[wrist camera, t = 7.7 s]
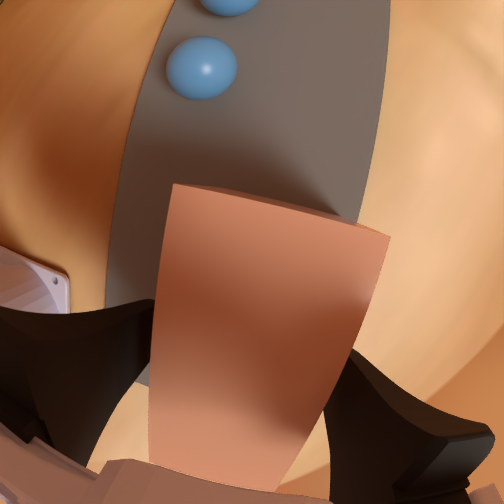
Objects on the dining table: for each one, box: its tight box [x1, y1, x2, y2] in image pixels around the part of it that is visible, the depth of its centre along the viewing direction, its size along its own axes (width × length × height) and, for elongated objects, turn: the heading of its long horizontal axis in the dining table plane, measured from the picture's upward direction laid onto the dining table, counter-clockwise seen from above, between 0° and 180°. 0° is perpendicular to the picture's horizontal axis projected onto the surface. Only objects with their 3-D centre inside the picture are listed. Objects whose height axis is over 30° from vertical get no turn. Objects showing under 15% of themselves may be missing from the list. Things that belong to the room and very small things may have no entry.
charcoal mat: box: [105, 0, 390, 387], centre depth 13 cm, size 12×26×1 cm, turn 167°
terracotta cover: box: [148, 184, 391, 492], centre depth 11 cm, size 5×11×6 cm, turn 167°
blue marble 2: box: [166, 36, 237, 101], centre depth 10 cm, size 3×3×3 cm
